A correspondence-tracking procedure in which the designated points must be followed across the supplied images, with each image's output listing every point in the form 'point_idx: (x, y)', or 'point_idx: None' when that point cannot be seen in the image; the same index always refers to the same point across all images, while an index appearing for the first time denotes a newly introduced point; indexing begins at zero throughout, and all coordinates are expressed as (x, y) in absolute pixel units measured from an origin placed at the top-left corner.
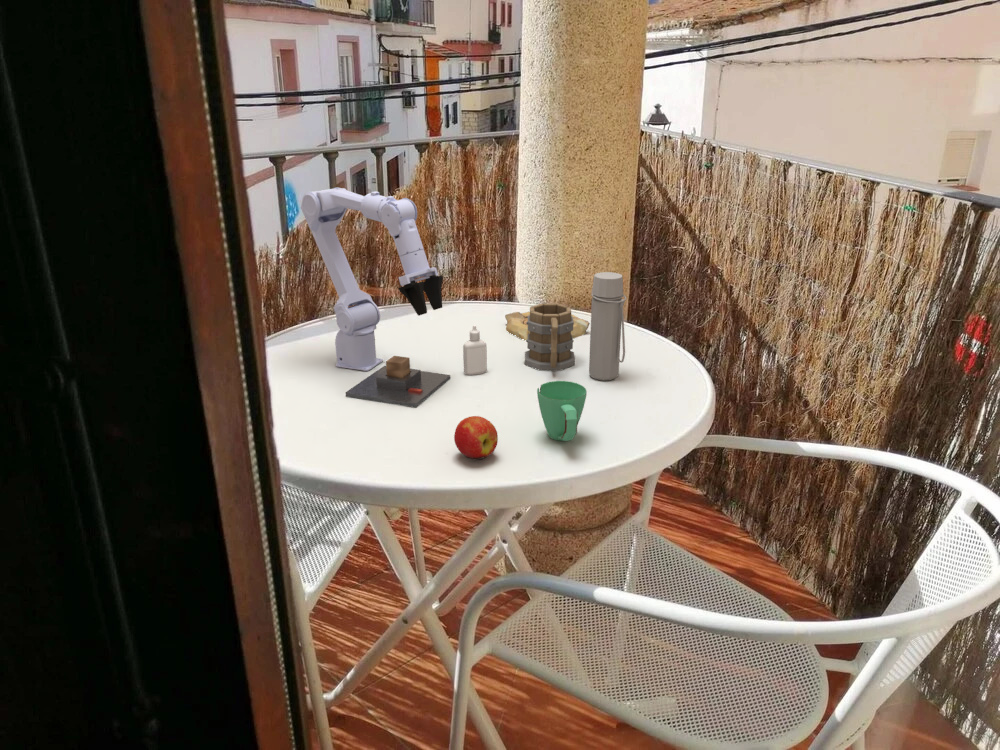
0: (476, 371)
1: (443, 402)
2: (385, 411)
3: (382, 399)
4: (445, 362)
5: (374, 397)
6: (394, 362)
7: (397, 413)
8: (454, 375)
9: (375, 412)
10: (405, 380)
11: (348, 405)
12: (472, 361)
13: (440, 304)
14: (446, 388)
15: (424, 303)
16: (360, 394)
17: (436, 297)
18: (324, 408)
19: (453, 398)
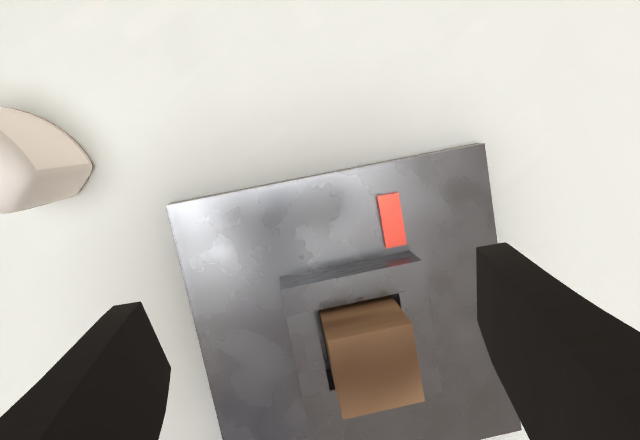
0: (58, 130)
1: (385, 82)
2: (552, 220)
3: None
4: (23, 336)
5: None
6: (417, 358)
7: (547, 172)
8: (126, 212)
9: (574, 244)
10: (412, 267)
11: None
12: (50, 143)
13: (128, 323)
14: (263, 156)
15: (553, 294)
16: None
17: (102, 418)
18: None
19: (332, 69)
